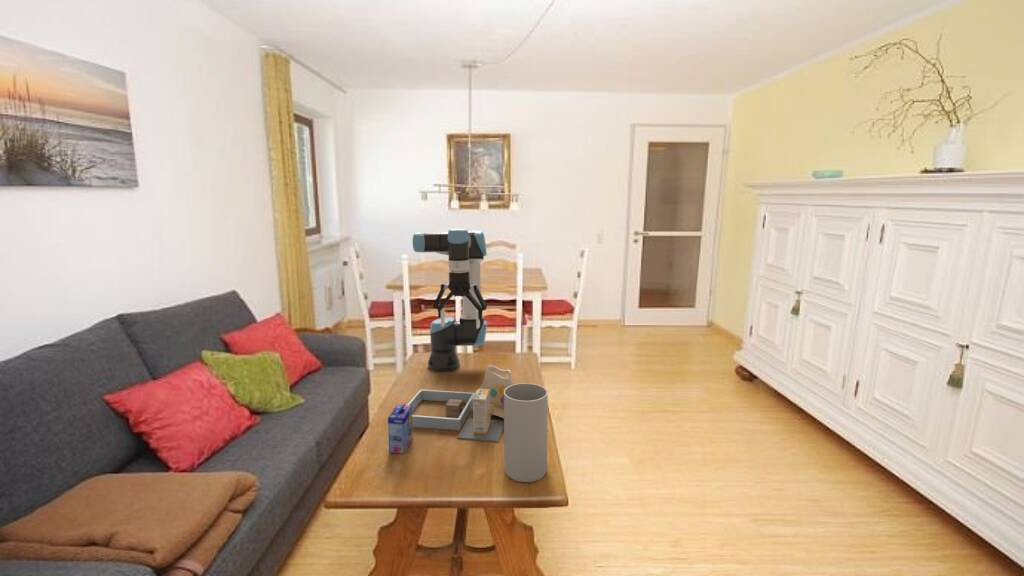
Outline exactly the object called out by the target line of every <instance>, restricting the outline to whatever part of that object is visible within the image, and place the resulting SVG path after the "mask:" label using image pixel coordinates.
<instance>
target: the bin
mask: <svg viewBox="0 0 1024 576" xmlns="http://www.w3.org/2000/svg"><path fill="white" fill-rule="evenodd" d="M475 393H476V392H465V391H464V392H463V391H452V390H451V391H449V390H432V389H419V390H418V392H416V394H415V395H414V396H413V397H412V398H411V400H410V401H409V402H408V403H406V405H410V406H412V412H413V411H414V410H415V409H416V408H417V407H418V405H419V404H420V403H421V401H432V402H433V401H435V402H448V401H449V399H456V400H462V404H463V403H465V404H466V405H465V406H464V408H463V411H462V413H461V415H460V416H459V418H449V417H446V416H445V417H444V416H443V417H441V416H428V415H417V414H416V415H415V414H412V428H423V429H437V430H449V431H450V430H453V431H461V430H462V428H463V426H464V425H465V423H466V421H467V419H468V418H469V415H470V413H471V411H472V410H473V397H474V395H475Z"/></svg>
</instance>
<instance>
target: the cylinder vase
mask: <svg viewBox="0 0 1024 576" xmlns="http://www.w3.org/2000/svg"><path fill="white" fill-rule="evenodd" d="M548 393H549V392H548V389H547V388H545V387H544V386H543V385H539V384H536V383H529V382H528V383H525V382H523V383H522V382H521V383H515V384H514V383H513V385H511V386H509V387H507V388H506V389H505V390H504V418H503V421H504V428H503V435H504V437H503V439H504V440H503V441H504V442H503V443H504V445H503V446H504V447H503V448H504V451H503V453H504V455H503V456H504V461H503V462H504V463H503V464H504V465H503V466H504V473H505V474H506V476H507V477H508V478H509V479H511V480H513V481H516V482H519V483H532V482H537V481H539V480H541V479H543V477H544V476H545V475H546V473H547V470H548V462H547V461H548V402H549V401H548V398H549V397H548Z"/></svg>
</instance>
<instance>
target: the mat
mask: <svg viewBox="0 0 1024 576" xmlns="http://www.w3.org/2000/svg"><path fill="white" fill-rule="evenodd" d="M490 420H491V423H490V426H489V429H488V432H487V434H474V430H473V417H472V418H471V417H467V419H466V420H465V422H464V424H463V426H462V428H461V430H460V432H459V433H458V434H459V435H458V436H457V440H466V441H467V440H468V441H469V440H470V441H478V442H479V441H481V442H482V441H483V442H494V443H495V442H496V443H499V441H500V439H501V436H502V434H503V432H504V420H498V419H497V420H496V419H490Z"/></svg>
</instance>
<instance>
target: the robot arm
mask: <svg viewBox="0 0 1024 576" xmlns="http://www.w3.org/2000/svg"><path fill="white" fill-rule="evenodd" d="M412 248H413V251H414V252H415V253H421V254H422V253H423V254H424V253H436V254H439V255H445V256H448V270H449V272H448V283H447V284H446V283H445V282H444V283H442V284H441V285H440V290H439V292H438V294H437V297H436V299H435V301H434V302H433V305H432V308H433V309H436V310H437V312H438V313H437V314H438V315H437V316H438V318H437V319H434V320H433V321H432V322H431V323H430V324H429V325H430V328H429V330H430V331H429V333H430V353H429V357H428V358H429V359H428V361H427V368H428V369H429V370H431V371H433V372H438V373H440V372H441V373H445V372H451V371H455V370H457V369H459V368H460V366H461V365H460V364H461V363H460V359H459V356H458V353H457V350H456V349H457V347H461V346H464V347H465V346H467V347H468V346H474V347H475V346H476V347H477V346H483V345H484V344H485V342H486V335H487V329H488V321H486V320H485V316H484V315H483V311H486V309H487V308H488V305H487V303H486V301H485V299H484V297H483V296H482V294H481V293H482V291H481V289H482V288H481V287H482V286H481V285H482V283H481V274H482V273H481V263H482V262H483V261H484V259H485V258H484V257H486V256H487V255H488V254H487V245H486V238H485V234H484V232H483V231H480V230H468V229H466V228H451V229H449V230H448V231H442V232H416V233H414V234H413V235H412ZM446 290H449V291H450V292H449V293H448V294H447V296H446V297H445V298H444V299H443V300H442V298H443V296H444V294H445V291H446ZM453 296H454V297H462V314H461V315H460V316H459V320H457V321H456V319H455V317H451V316H449V317H446V314H445V313H446V312H445V311H446V310H445V308H444V306H446V304H447V303H448V302H449V301H450V300H451V298H452V297H453ZM441 300H442V301H441ZM456 346H457V347H456Z"/></svg>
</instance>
